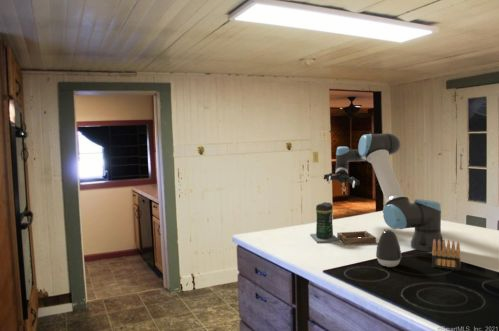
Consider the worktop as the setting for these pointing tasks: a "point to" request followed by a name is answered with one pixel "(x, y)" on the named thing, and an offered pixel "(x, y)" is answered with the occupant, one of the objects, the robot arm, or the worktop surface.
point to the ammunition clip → (446, 255)
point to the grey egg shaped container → (388, 249)
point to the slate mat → (325, 239)
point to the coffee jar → (324, 220)
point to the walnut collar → (356, 237)
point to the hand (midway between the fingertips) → (341, 183)
